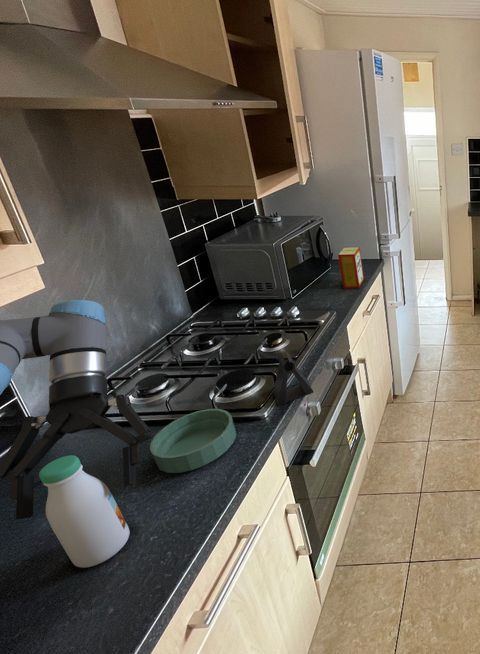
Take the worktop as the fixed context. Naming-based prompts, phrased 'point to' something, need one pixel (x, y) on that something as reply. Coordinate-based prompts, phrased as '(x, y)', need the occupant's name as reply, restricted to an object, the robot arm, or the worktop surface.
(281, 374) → the phone stand
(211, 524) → the worktop surface
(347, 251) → the baking soda box
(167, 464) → the green jar lid
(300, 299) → the worktop surface
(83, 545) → the milk bottle
